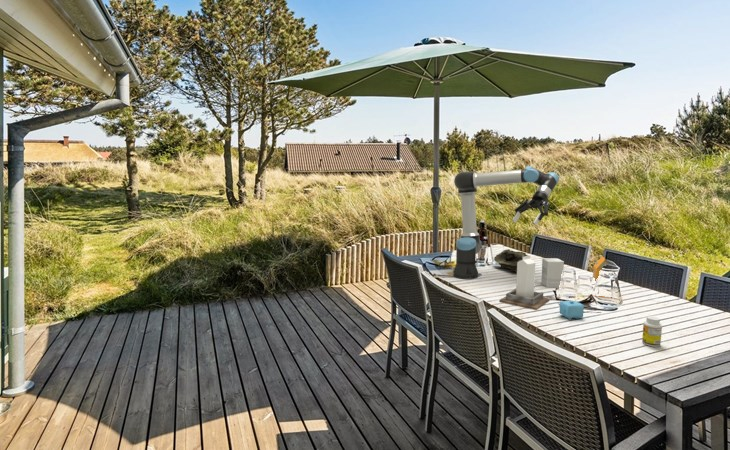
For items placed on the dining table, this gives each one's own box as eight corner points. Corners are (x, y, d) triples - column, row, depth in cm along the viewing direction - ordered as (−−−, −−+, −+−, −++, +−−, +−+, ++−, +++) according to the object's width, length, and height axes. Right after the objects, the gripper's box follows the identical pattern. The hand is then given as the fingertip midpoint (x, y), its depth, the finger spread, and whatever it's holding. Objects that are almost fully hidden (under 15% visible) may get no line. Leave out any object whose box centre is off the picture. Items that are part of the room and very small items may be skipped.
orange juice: (594, 296, 204) (596, 258, 202) (591, 291, 213) (594, 255, 210) (611, 297, 201) (614, 259, 199) (608, 293, 210) (611, 256, 207)
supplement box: (557, 283, 228) (558, 258, 227) (563, 287, 220) (564, 261, 218) (540, 283, 229) (541, 257, 227) (546, 287, 221) (547, 261, 219)
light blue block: (560, 320, 172) (561, 303, 171) (552, 315, 178) (553, 299, 177) (586, 319, 173) (587, 302, 172) (577, 314, 179) (578, 298, 178)
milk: (533, 299, 196) (536, 256, 193) (525, 302, 193) (528, 257, 190) (523, 296, 202) (525, 254, 199) (515, 298, 198) (517, 255, 195)
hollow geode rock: (527, 283, 247) (542, 265, 247) (514, 270, 243) (530, 252, 244) (501, 271, 273) (515, 255, 274) (490, 259, 270) (504, 243, 271)
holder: (499, 301, 197) (499, 294, 196) (513, 293, 210) (514, 286, 210) (536, 309, 185) (536, 301, 184) (549, 300, 198) (549, 292, 197)
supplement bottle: (642, 339, 151) (644, 314, 150) (660, 343, 148) (663, 317, 146) (641, 344, 147) (643, 318, 146) (659, 348, 143) (662, 321, 142)
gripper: (564, 200, 220) (547, 229, 214) (525, 198, 240) (508, 224, 234) (559, 191, 216) (541, 220, 210) (520, 189, 237) (502, 216, 231)
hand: (524, 222), depth 222 cm, fingers open, 13 cm apart
